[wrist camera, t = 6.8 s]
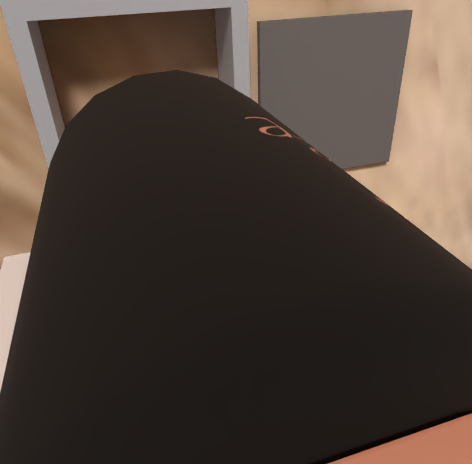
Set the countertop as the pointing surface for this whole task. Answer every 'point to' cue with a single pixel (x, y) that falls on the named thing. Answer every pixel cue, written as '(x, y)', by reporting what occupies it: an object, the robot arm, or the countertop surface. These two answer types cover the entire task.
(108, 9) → the pocket frame
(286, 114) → the pad
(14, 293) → the robot arm
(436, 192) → the countertop surface
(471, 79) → the countertop surface
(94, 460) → the coffee jar
